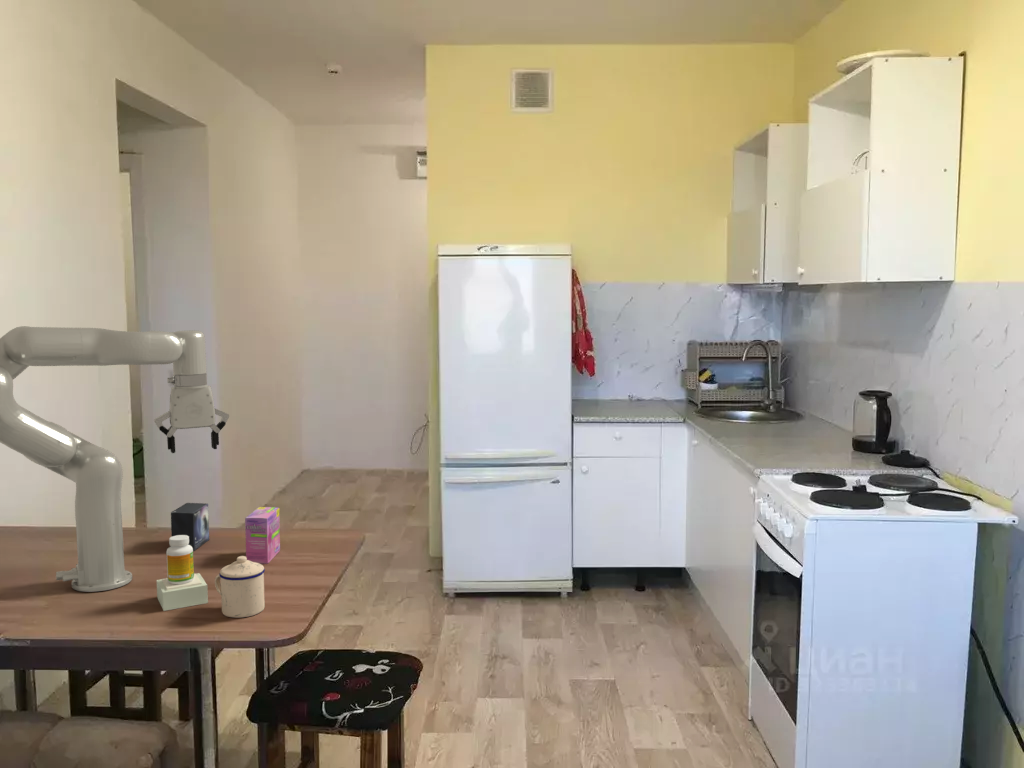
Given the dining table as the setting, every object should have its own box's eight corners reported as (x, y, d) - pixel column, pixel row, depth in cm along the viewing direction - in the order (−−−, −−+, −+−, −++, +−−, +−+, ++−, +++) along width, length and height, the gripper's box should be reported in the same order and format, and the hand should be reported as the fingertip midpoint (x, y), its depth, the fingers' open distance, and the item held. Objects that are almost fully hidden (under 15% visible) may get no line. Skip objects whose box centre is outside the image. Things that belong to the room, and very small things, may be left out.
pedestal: (163, 610, 175) (162, 590, 175) (157, 597, 183) (156, 578, 182) (208, 602, 180) (207, 583, 179) (200, 590, 187) (199, 571, 187)
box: (268, 564, 206) (267, 517, 205) (245, 564, 206) (244, 517, 205) (281, 551, 216) (279, 507, 215) (259, 551, 216) (257, 506, 215)
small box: (195, 551, 216) (193, 512, 214) (170, 551, 216) (168, 512, 215) (210, 539, 226) (209, 502, 225) (187, 539, 226) (185, 502, 225)
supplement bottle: (196, 582, 180) (194, 538, 179) (169, 586, 177) (167, 542, 176) (191, 575, 185) (190, 532, 184) (165, 579, 182) (164, 536, 181)
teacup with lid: (275, 606, 178) (273, 553, 176) (244, 621, 170) (242, 566, 168) (232, 598, 183) (230, 546, 182) (200, 612, 175) (198, 558, 173)
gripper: (154, 384, 195) (158, 456, 197) (230, 380, 203) (233, 449, 205) (150, 381, 201) (154, 451, 203) (224, 377, 210) (227, 444, 212)
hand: (193, 450), depth 204 cm, fingers open, 9 cm apart
